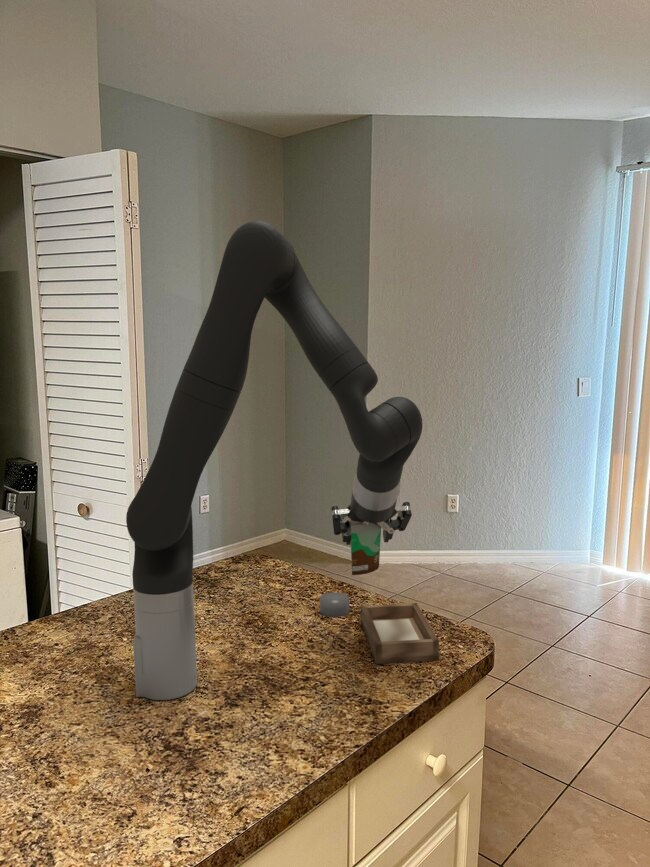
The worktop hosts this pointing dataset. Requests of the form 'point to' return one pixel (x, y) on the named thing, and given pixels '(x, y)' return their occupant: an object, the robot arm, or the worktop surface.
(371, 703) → the worktop surface
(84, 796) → the worktop surface
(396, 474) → the robot arm
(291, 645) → the worktop surface
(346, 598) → the grey domed puck
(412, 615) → the tray
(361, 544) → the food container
